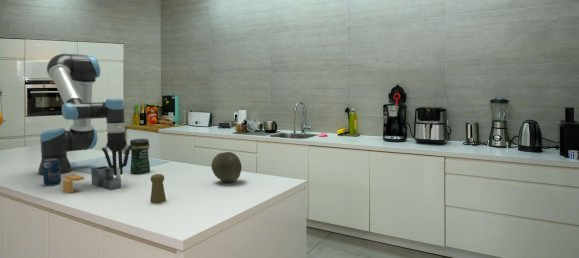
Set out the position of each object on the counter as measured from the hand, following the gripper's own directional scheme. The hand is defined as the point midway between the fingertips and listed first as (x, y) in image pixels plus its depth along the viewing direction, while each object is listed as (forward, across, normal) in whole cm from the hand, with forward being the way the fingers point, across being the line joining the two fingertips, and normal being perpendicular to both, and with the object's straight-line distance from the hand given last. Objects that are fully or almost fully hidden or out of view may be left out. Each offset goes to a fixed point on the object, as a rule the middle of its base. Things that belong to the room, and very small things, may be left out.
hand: (118, 181), depth 171 cm
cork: (+2, +8, -35) cm, 36 cm away
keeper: (+2, -18, +2) cm, 19 cm away
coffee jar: (+2, +15, +23) cm, 28 cm away
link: (+2, -4, +2) cm, 5 cm away
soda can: (+2, -25, +21) cm, 33 cm away
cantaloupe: (+2, +45, -23) cm, 50 cm away
